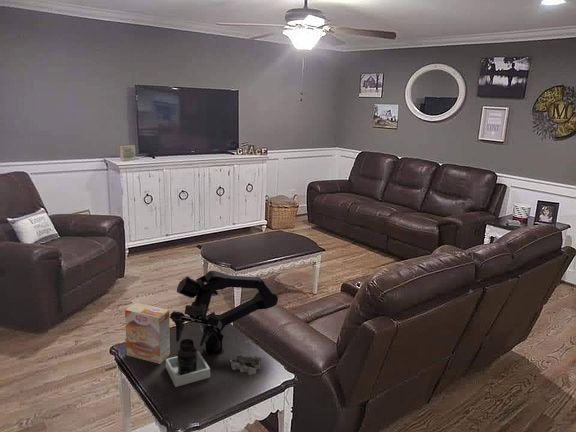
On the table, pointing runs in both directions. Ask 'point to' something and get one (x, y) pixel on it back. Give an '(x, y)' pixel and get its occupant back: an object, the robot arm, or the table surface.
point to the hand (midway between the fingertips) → (188, 343)
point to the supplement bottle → (187, 357)
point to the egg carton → (245, 359)
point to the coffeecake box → (147, 332)
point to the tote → (179, 380)
